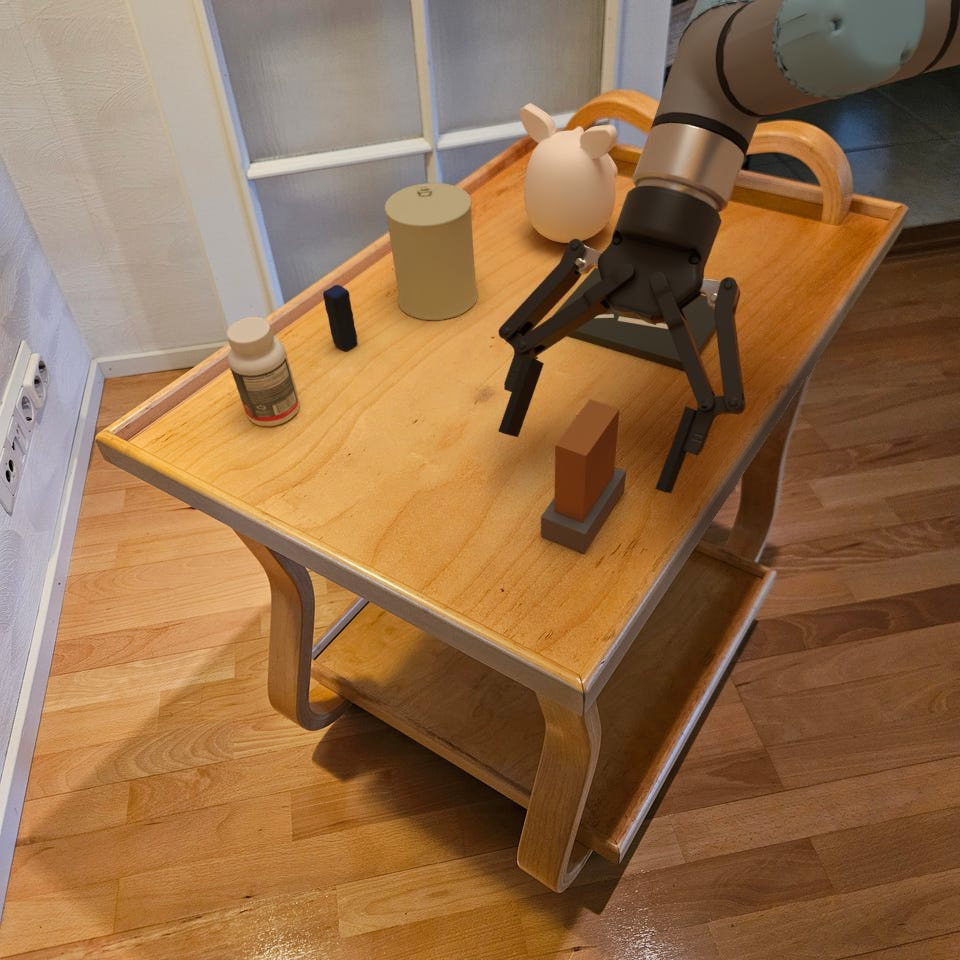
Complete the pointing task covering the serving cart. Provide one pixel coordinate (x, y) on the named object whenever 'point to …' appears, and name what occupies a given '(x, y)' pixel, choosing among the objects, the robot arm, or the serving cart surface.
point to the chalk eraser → (584, 478)
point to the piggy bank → (568, 178)
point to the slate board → (642, 329)
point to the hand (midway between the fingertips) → (582, 462)
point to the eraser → (340, 317)
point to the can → (432, 250)
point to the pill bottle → (261, 372)
